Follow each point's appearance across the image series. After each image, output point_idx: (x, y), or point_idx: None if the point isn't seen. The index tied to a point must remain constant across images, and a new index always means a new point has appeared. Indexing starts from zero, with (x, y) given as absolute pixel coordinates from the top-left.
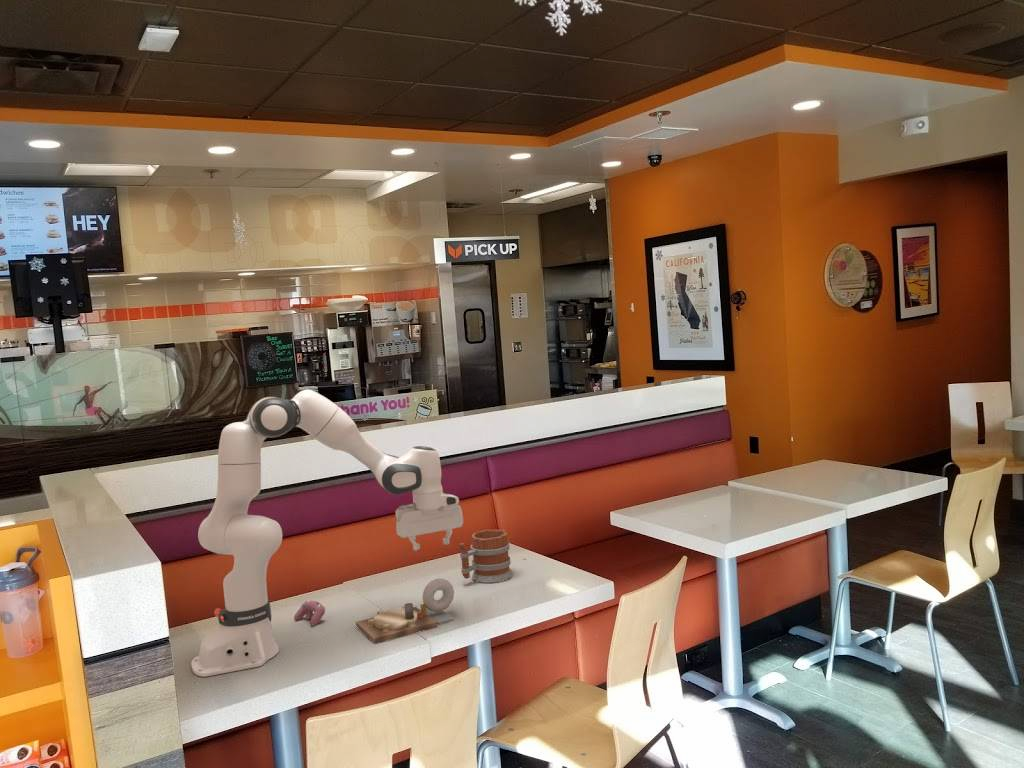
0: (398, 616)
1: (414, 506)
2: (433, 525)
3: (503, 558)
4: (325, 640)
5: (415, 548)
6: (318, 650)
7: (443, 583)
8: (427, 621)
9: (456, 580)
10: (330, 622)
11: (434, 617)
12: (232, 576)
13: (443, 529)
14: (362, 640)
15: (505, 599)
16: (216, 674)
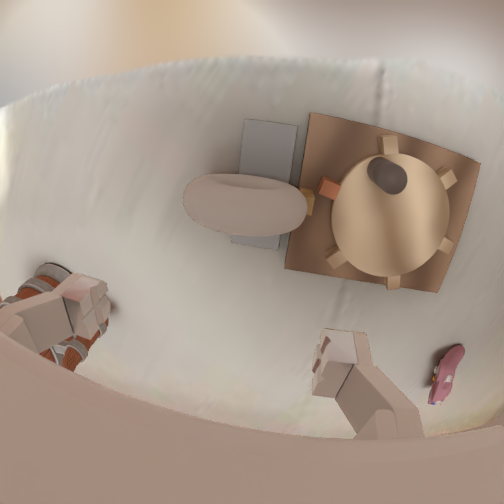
0: (392, 210)
1: None
2: (90, 469)
3: (21, 291)
4: (499, 267)
5: (367, 343)
6: None
7: (221, 188)
8: (329, 140)
9: (123, 340)
10: (434, 341)
11: (282, 171)
12: None
13: (24, 353)
14: (475, 204)
15: (79, 163)
16: None
